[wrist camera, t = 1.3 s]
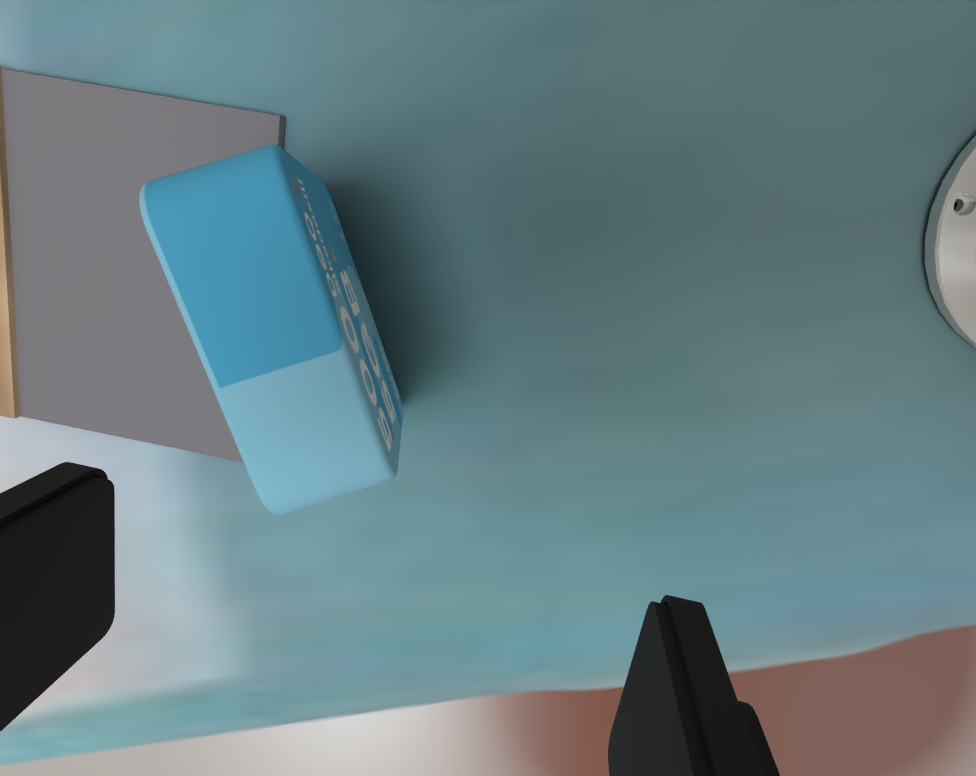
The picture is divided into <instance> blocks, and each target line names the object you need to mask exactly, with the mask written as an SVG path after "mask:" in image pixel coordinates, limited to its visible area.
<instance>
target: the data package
mask: <svg viewBox="0 0 976 776" xmlns="http://www.w3.org/2000/svg"><path fill="white" fill-rule="evenodd" d="M139 204H140V211H141V215H142V219H143V222H144V225H145V228H146V230H147V233H148V235H149V238H150V240H151V243H152V245H153V247H154V250H155V252H156V255H157V257H158V259H159V262H160V264H161V266H162V269H163V271H164V274H165V276H166V278H167V281H168V283H169V285H170V288H171V290H172V293H173V295H174V297H175V300H176V302H177V305H178V307H179V309H180V312H181V314H182V316H183V319H184V321H185V324H186V326H187V328H188V331H189V333H190V336H191V338H192V340H193V343H194V345H195V347H196V350H197V352H198V355H199V357H200V359H201V362H202V364H203V366H204V369H205V371H206V374H207V376H208V378H209V381H210V383H211V386H212V388H213V390H214V393H215V395H216V397H217V400H218V402H219V405H220V407H221V409H222V412H223V414H224V417H225V419H226V421H227V424H228V426H229V428H230V431H231V433H232V436H233V438H234V440H235V443H236V445H237V447H238V450H239V452H240V455H241V457H242V459H243V462H244V464H245V467H246V469H247V471H248V474H249V476H250V478H251V481H252V483H253V486H254V488H255V490H256V492H257V494H258V496H259V498H260V499H261V501H262V502H263V504H264V505H265V506H266V507H267V508H268V509H269V510H270V511H271V512H273V513H274V514H277V515H284V514H287V513H291V512H294V511H297V510H300V509H303V508H306V507H309V506H312V505H315V504H318V503H321V502H324V501H327V500H330V499H333V498H337V497H340V496H343V495H346V494H349V493H352V492H355V491H358V490H361V489H364V488H367V487H370V486H373V485H376V484H379V483H383V482H386V481H389V480H392V479H393V478H394V477H395V476H396V474H397V469H398V458H399V448H400V438H401V428H402V417H403V408H402V403H401V399H400V395H399V392H398V389H397V386H396V382H395V380H394V377H393V374H392V371H391V368H390V365H389V362H388V359H387V356H386V354H385V351H384V348H383V345H382V342H381V339H380V336H379V333H378V330H377V328H376V325H375V322H374V319H373V316H372V313H371V310H370V307H369V304H368V302H367V299H366V296H365V293H364V290H363V287H362V284H361V281H360V278H359V276H358V273H357V270H356V267H355V264H354V261H353V258H352V255H351V252H350V250H349V247H348V244H347V241H346V238H345V235H344V232H343V229H342V226H341V224H340V221H339V218H338V215H337V212H336V209H335V207H334V204H333V202H332V199H331V197H330V194H329V192H328V190H327V188H326V186H325V184H324V183H323V182H322V181H321V180H320V179H319V178H318V177H317V176H315V175H314V174H313V173H312V172H310V171H309V170H308V169H307V168H305V167H304V166H303V165H302V164H301V163H299V162H298V161H297V160H296V159H294V158H293V157H292V156H291V155H289V154H288V153H287V152H286V151H285V150H283V149H282V148H281V147H279V146H278V145H274V144H272V145H268V146H264V147H261V148H258V149H254V150H251V151H248V152H244V153H241V154H238V155H234V156H231V157H228V158H224V159H221V160H217V161H214V162H211V163H207V164H204V165H201V166H197V167H194V168H191V169H187V170H184V171H181V172H177V173H174V174H171V175H167V176H164V177H161V178H157V179H154V180H150V181H148V182H146V183H145V184H144V185H143V186H142V188H141V190H140V195H139Z"/></svg>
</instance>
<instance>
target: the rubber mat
mask: <svg viewBox="0 0 976 776" xmlns="http://www.w3.org/2000/svg"><path fill="white" fill-rule="evenodd" d="M2 87H3V105H4V123H5V142H6V160H7V178H8V196H9V214H10V232H11V250H12V268H13V286H14V304H15V322H16V340H17V359H18V377H19V395H20V413H21V416H22V417H27V418H32V419H37V420H42V421H46V422H51V423H56V424H61V425H66V426H71V427H76V428H80V429H85V430H90V431H95V432H100V433H105V434H110V435H114V436H119V437H124V438H129V439H134V440H139V441H144V442H148V443H153V444H158V445H163V446H168V447H173V448H178V449H183V450H187V451H192V452H197V453H202V454H207V455H212V456H217V457H221V458H226V459H231V460H236V461H241V462H243V459H242V457H241V455H240V452H239V450H238V447H237V445H236V443H235V440H234V438H233V436H232V433H231V431H230V428H229V426H228V424H227V421H226V419H225V417H224V414H223V412H222V409H221V407H220V405H219V402H218V400H217V397H216V395H215V393H214V390H213V388H212V386H211V383H210V381H209V378H208V376H207V374H206V371H205V369H204V366H203V364H202V362H201V359H200V357H199V355H198V352H197V350H196V347H195V345H194V343H193V340H192V338H191V336H190V333H189V331H188V328H187V326H186V324H185V321H184V319H183V316H182V314H181V312H180V309H179V307H178V305H177V302H176V300H175V297H174V295H173V293H172V290H171V288H170V285H169V283H168V281H167V278H166V276H165V274H164V271H163V269H162V266H161V264H160V262H159V259H158V257H157V255H156V252H155V250H154V247H153V245H152V243H151V240H150V238H149V235H148V233H147V230H146V228H145V225H144V222H143V219H142V215H141V211H140V204H139V195H140V190H141V188H142V186H143V185H144V184H145V183H146V182H148V181H150V180H154V179H157V178H161V177H164V176H167V175H171V174H174V173H177V172H181V171H184V170H187V169H191V168H194V167H197V166H201V165H204V164H207V163H211V162H214V161H217V160H221V159H224V158H228V157H231V156H234V155H238V154H241V153H244V152H248V151H251V150H254V149H258V148H261V147H264V146H268V145H272V144H274V145H278V146H279V147H281V148H282V149H283V145H284V130H285V117H282V116H278V115H272V114H266V113H261V112H255V111H249V110H243V109H237V108H231V107H225V106H219V105H213V104H207V103H201V102H195V101H190V100H184V99H178V98H172V97H166V96H160V95H154V94H148V93H142V92H136V91H130V90H124V89H118V88H113V87H107V86H101V85H95V84H89V83H83V82H77V81H71V80H65V79H59V78H53V77H47V76H42V75H36V74H30V73H24V72H18V71H12V70H6V69H2Z"/></svg>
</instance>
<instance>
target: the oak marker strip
mask: <svg viewBox="0 0 976 776" xmlns="http://www.w3.org/2000/svg"><path fill="white" fill-rule="evenodd" d="M0 416H5V417H10V418H17V417H20V416H21V413H20V395H19V377H18V359H17V340H16V322H15V304H14V286H13V268H12V250H11V232H10V214H9V196H8V178H7V160H6V142H5V123H4V105H3V87H2V69H1V68H0Z"/></svg>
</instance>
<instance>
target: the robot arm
mask: <svg viewBox="0 0 976 776" xmlns="http://www.w3.org/2000/svg"><path fill="white" fill-rule="evenodd" d="M955 201H957V207H956V209H955V210H954V202H955ZM925 268H926V273H927V278H928V283H929V287H930V291H931V293H932V295H933V297H934V300H935V302H936V304H937V306H938V308H939V311H940V312H941V314H942V315H943V316H944V318H945V319H946V320H947V322H948V323H949V324H950V325H951V327H952V328H953V329H954V331H955V332H956V333H958V334H959V335H960V336H961V337H963V338H964V339H965V340H966V341H967V342H969V343H970V344H971V345H972V346H973V347H975V348H976V136H975V137H974V138H973V139H972V140H971V141H970V142H969V144H968V145H967V146H966V147H965V148H964V149H963V150H962V152H961V153H960V154H959V155H958V157H957V159H956V160H955V162H954V163H953V165H952V167H951V168H950V170H949V171H948V173H947V175H946V176H945V178H944V179H943V181H942V183H941V186H940V188H939V191H938V193H937V196H936V198H935V201H934V203H933V205H932V208H931V211H930V216H929V221H928V226H927V230H926V235H925ZM114 614H115V526H114V485H113V483H112V482H111V481H110V480H108V478H107V475H106V473H105V472H104V471H103V470H101V469H98V468H93V467H89V466H84V465H80V464H75V463H70V462H65V463H62V464H59V465H57V466H55V467H53V468H51V469H49V470H47V471H45V472H43V473H41V474H39V475H37V476H35V477H33V478H31V479H29V480H27V481H25V482H23V483H21V484H19V485H17V486H15V487H13V488H11V489H9V490H6V491H4V492H2V493H0V731H2V730H3V729H4V728H5V727H6V726H7V725H8V724H9V723H10V722H11V721H12V720H14V719H15V718H16V717H17V716H18V715H19V714H20V713H21V712H22V711H23V710H24V709H26V708H27V707H28V706H29V705H30V704H31V703H32V702H33V701H34V700H35V699H36V698H38V697H39V696H40V695H41V694H42V693H43V692H44V691H45V690H46V689H47V688H48V687H50V686H51V685H52V684H53V683H54V682H55V681H56V680H57V679H58V678H59V677H60V676H62V675H63V674H64V673H65V672H66V671H67V670H68V669H69V668H70V667H71V666H72V665H74V664H75V663H76V662H77V661H78V660H79V659H80V658H81V657H82V656H83V655H84V654H86V653H87V652H88V651H89V650H90V649H91V648H92V647H93V646H94V645H95V644H96V643H98V642H99V641H100V640H101V639H102V638H103V637H104V636H105V635H106V633H107V632H108V630H109V629H110V627H111V625H112V623H113V619H114ZM608 762H609V775H610V776H780V774H779V772H778V769H777V767H776V764H775V761H774V759H773V756H772V753H771V751H770V748H769V746H768V743H767V740H766V738H765V735H764V733H763V730H762V727H761V725H760V722H759V720H758V717H757V715H756V713H755V711H754V709H753V707H751V706H750V705H749V704H748V703H744V702H740V701H738V700H737V698H736V695H735V692H734V689H733V687H732V684H731V681H730V678H729V675H728V672H727V669H726V667H725V664H724V661H723V658H722V655H721V653H720V650H719V647H718V644H717V641H716V638H715V636H714V633H713V630H712V627H711V624H710V621H709V619H708V616H707V613H706V610H705V607H704V606H703V604H702V603H700V602H696V601H691V600H687V599H682V598H678V597H673V596H669V595H666V596H664V597H663V599H662V600H661V603H657V602H653V601H652V602H650V604H649V606H648V608H647V611H646V615H645V618H644V622H643V625H642V628H641V632H640V635H639V639H638V642H637V645H636V649H635V652H634V656H633V659H632V662H631V666H630V669H629V673H628V676H627V679H626V683H625V686H624V689H623V693H622V696H621V700H620V703H619V706H618V710H617V713H616V717H615V720H614V723H613V727H612V730H611V734H610V740H609V748H608Z"/></svg>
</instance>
